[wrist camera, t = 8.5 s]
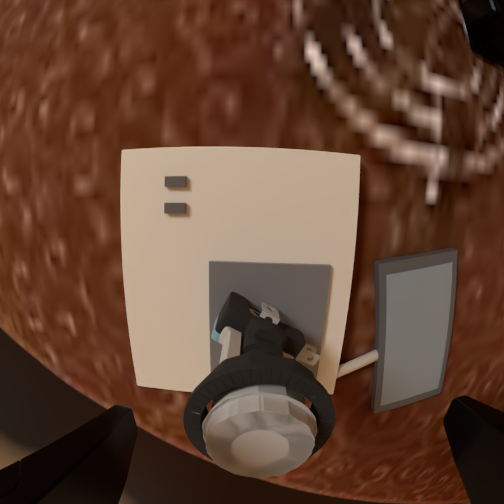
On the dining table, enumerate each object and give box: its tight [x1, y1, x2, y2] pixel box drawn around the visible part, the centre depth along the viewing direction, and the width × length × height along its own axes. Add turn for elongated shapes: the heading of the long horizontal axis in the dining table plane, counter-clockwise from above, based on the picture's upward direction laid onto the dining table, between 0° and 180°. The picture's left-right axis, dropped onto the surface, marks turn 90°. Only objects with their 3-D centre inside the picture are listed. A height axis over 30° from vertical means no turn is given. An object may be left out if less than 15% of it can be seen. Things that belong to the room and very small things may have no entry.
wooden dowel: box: [336, 349, 378, 378], centre depth 20 cm, size 13×1×1 cm, turn 113°
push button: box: [184, 292, 335, 478], centre depth 13 cm, size 7×5×10 cm
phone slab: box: [371, 248, 457, 414], centre depth 20 cm, size 6×12×1 cm, turn 8°
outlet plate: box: [121, 147, 360, 396], centre depth 18 cm, size 14×16×1 cm
